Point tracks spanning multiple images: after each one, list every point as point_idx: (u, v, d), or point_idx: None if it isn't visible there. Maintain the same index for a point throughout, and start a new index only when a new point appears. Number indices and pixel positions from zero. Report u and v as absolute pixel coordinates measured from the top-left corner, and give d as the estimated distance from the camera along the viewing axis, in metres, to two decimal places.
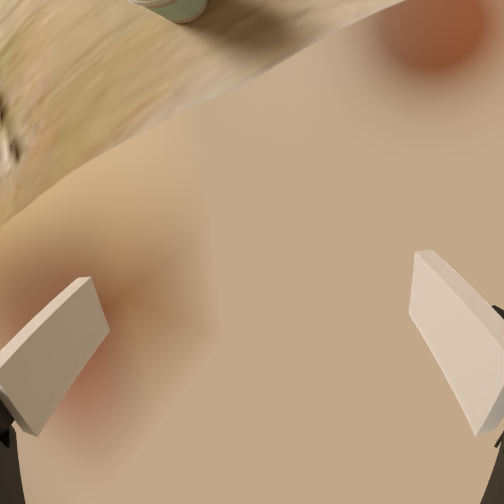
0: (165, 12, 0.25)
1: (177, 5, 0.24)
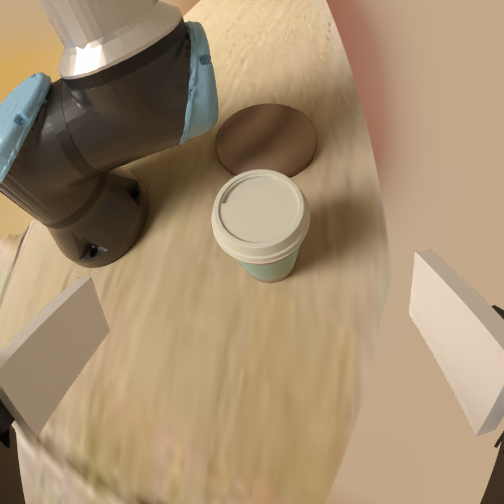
0: (292, 258, 0.30)
1: None
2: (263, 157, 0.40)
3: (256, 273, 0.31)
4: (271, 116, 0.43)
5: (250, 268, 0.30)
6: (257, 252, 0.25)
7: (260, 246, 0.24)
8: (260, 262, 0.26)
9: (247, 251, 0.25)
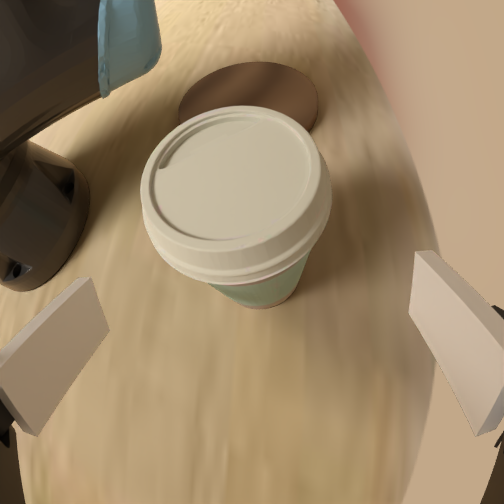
0: (299, 269, 0.16)
1: None
2: None
3: (236, 298, 0.18)
4: (253, 75, 0.30)
5: (223, 291, 0.16)
6: (227, 261, 0.11)
7: (232, 248, 0.11)
8: (236, 282, 0.12)
9: (205, 260, 0.11)
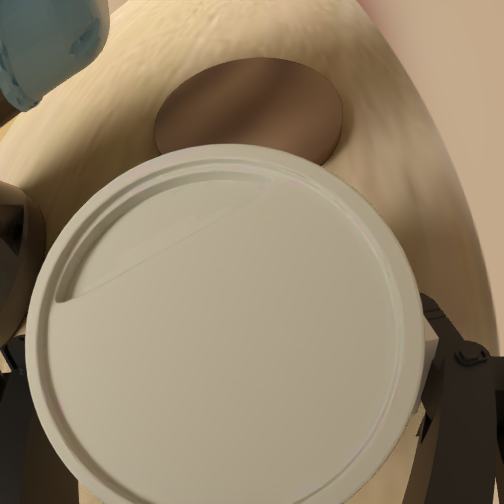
0: None
1: None
2: (241, 143, 0.20)
3: None
4: (255, 75, 0.23)
5: None
6: None
7: None
8: None
9: None
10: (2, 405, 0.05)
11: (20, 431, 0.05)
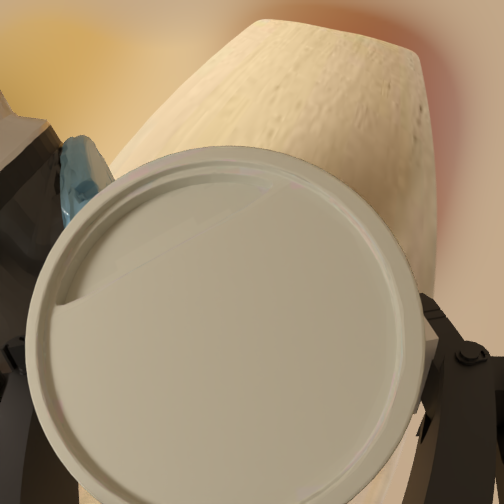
0: None
1: None
2: None
3: None
4: None
5: None
6: None
7: None
8: None
9: None
10: (2, 406, 0.05)
11: (20, 431, 0.05)
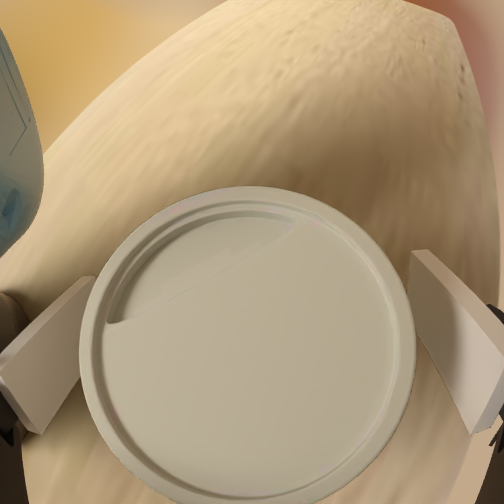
0: None
1: None
2: None
3: None
4: None
5: None
6: None
7: None
8: None
9: None
10: None
11: None
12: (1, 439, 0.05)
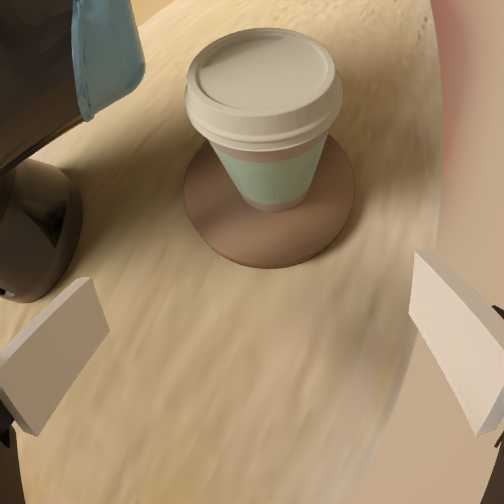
0: (314, 161, 0.18)
1: None
2: (249, 221, 0.24)
3: (258, 189, 0.20)
4: None
5: (249, 176, 0.18)
6: (264, 126, 0.13)
7: (269, 113, 0.13)
8: (269, 148, 0.14)
9: (246, 126, 0.13)
10: None
11: None
12: None
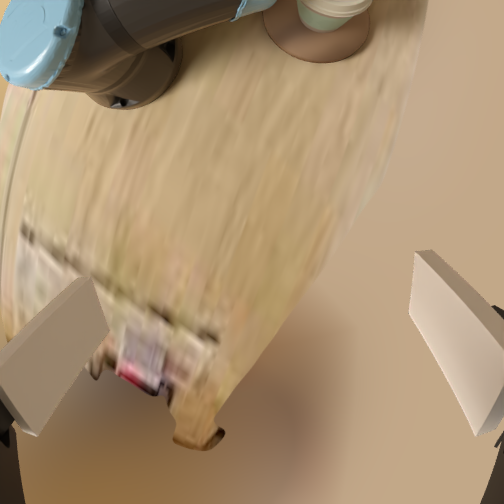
0: None
1: None
2: (309, 37, 0.33)
3: (322, 24, 0.28)
4: None
5: (321, 20, 0.27)
6: (342, 9, 0.22)
7: (345, 5, 0.21)
8: (341, 16, 0.23)
9: (333, 7, 0.22)
10: None
11: None
12: None
